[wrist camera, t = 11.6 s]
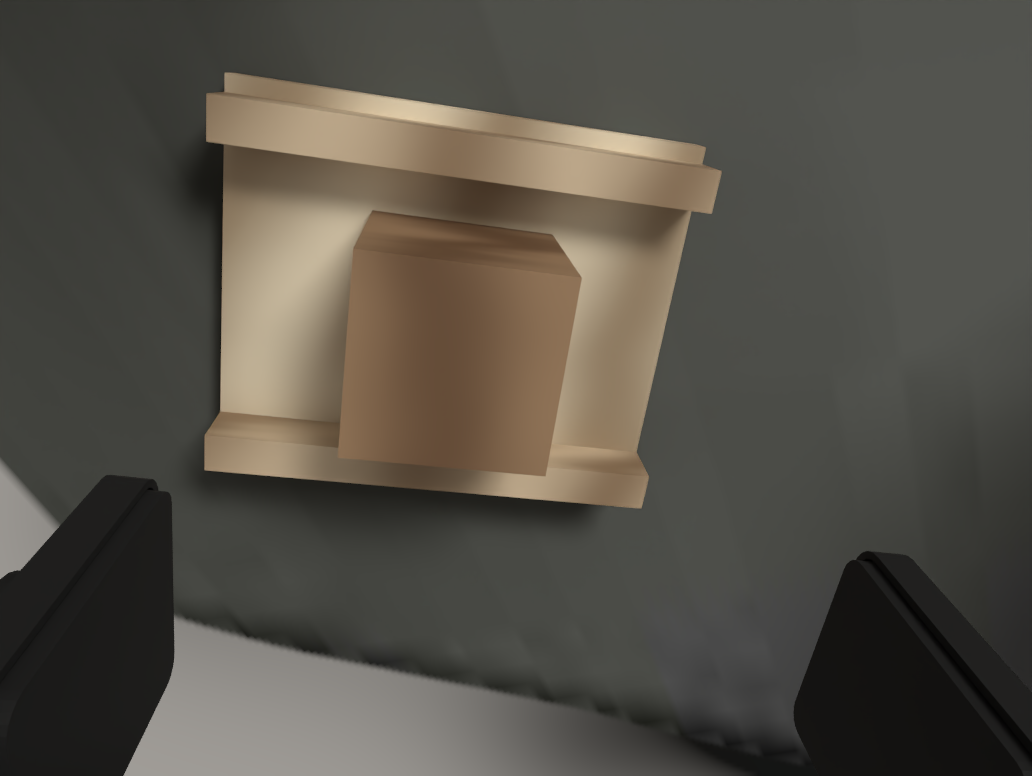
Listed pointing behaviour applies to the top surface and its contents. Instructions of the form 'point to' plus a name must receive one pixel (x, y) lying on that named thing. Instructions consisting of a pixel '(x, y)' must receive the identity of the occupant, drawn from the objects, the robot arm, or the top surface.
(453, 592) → the top surface
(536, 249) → the walnut block
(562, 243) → the board
